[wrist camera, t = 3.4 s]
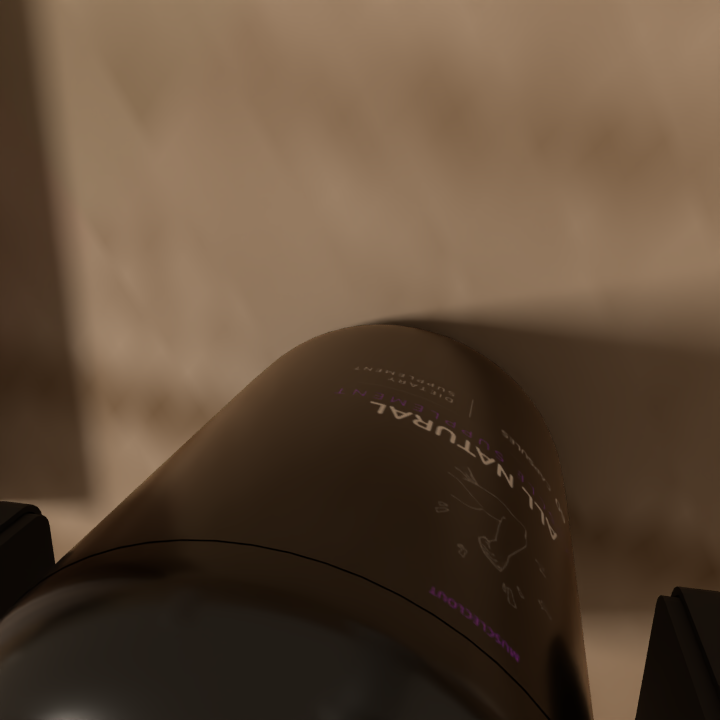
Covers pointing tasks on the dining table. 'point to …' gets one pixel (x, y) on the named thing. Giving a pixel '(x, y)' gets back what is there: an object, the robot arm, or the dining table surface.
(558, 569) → the supplement bottle
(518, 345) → the dining table surface
